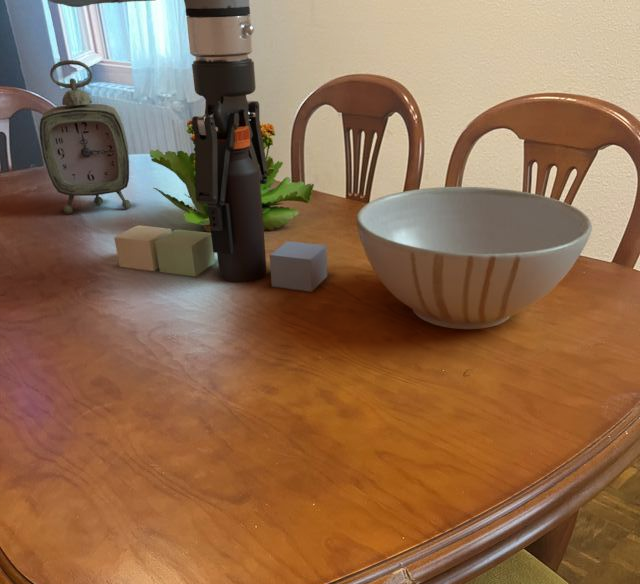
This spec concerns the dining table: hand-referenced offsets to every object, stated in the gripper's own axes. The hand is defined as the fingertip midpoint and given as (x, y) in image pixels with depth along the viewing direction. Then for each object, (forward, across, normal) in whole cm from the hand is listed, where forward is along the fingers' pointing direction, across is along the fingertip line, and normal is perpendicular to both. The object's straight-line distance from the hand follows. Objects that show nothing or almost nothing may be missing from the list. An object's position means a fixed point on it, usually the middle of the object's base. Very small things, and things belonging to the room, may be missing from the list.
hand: (239, 241), depth 92 cm
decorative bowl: (+5, -2, -32) cm, 33 cm away
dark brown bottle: (+5, 0, 0) cm, 5 cm away
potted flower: (+5, +20, +13) cm, 24 cm away
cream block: (+5, 0, +16) cm, 17 cm away
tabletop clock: (+5, +24, +43) cm, 50 cm away
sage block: (+5, 0, +9) cm, 10 cm away
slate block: (+5, 0, -9) cm, 10 cm away
